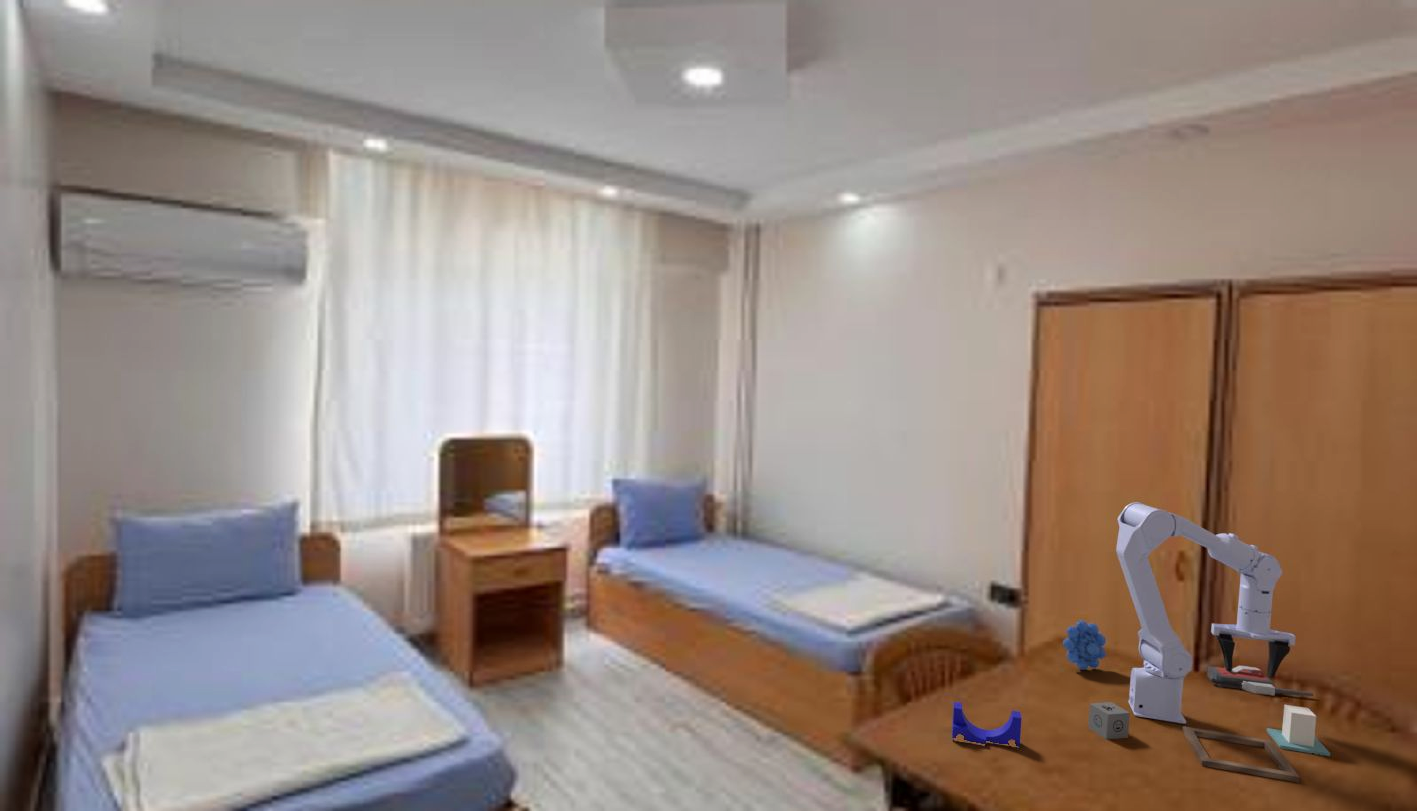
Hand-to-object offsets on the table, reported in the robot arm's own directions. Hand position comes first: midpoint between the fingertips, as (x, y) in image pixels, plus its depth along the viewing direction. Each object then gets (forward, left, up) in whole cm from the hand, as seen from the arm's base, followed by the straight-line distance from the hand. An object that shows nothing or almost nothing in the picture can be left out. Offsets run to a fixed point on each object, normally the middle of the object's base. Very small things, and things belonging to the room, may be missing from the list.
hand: (1249, 673), depth 168 cm
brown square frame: (-7, -21, -9) cm, 24 cm away
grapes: (-29, +14, -10) cm, 34 cm away
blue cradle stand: (-52, -35, -10) cm, 63 cm away
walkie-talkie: (+8, +21, -10) cm, 24 cm away
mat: (+6, -10, -9) cm, 15 cm away
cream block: (+6, -10, -9) cm, 15 cm away
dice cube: (-29, -21, -10) cm, 37 cm away
